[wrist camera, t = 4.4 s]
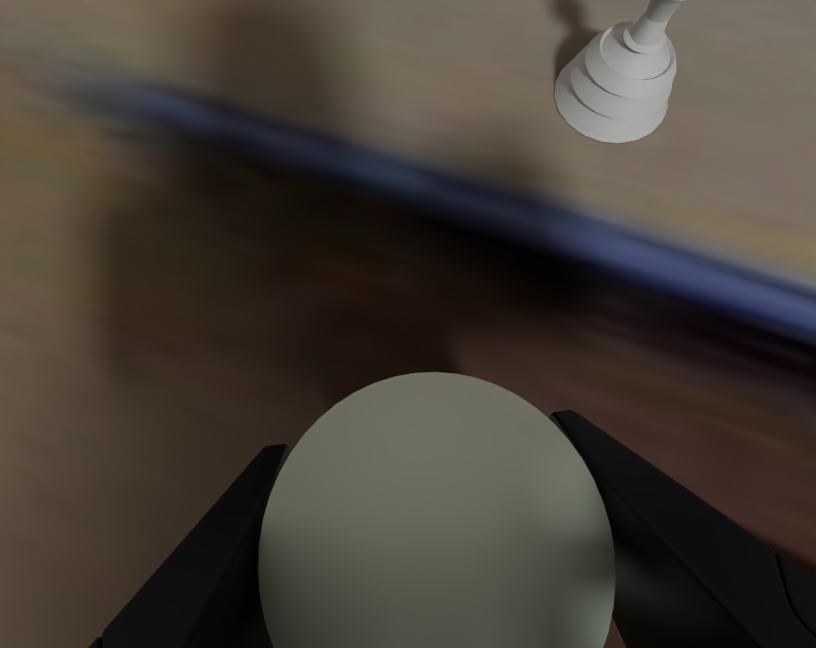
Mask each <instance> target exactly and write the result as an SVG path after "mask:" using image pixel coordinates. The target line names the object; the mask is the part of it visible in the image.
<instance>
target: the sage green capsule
mask: <svg viewBox="0 0 816 648" xmlns="http://www.w3.org/2000/svg"><path fill="white" fill-rule="evenodd" d="M258 578H259V591H260V599H261V605H262V610H263V615H264V620H265V624H266V627H267V630H268V633H269V636H270V639H271V642H272V645H273V648H603V646H604V643H605V640H606V637H607V634H608V631H609V626H610V621H611V616H612V611H613V607H614V595H615V582H616V575H615V553H614V546H613V540H612V534H611V528H610V524H609V520H608V517H607V513H606V510H605V506H604V503H603V500H602V498H601V496H600V493H599V491H598V488H597V486H596V483H595V481H594V479H593V477H592V475H591V474H590V472H589V470H588V468H587V466H586V465H585V463H584V461H583V459H582V458H581V456H580V455H579V453H578V452H577V451H576V449H575V448H574V447H573V445H572V444H571V442H570V441H569V440H568V438H567V437H566V436H565V435H564V434H563V433H562V432H561V431H560V430H559V429H558V427H557V426H556V425H555V424H554V423H553V422H552V421H551V420H550V419H548V418H547V417H546V416H545V415H544V414H543V413H541V412H540V411H539V410H538V409H537V408H536V407H534V406H533V405H531V404H530V403H528V402H527V401H525V400H524V399H522V398H521V397H519V396H518V395H516V394H514V393H512V392H510V391H508V390H506V389H504V388H502V387H500V386H498V385H495V384H492V383H490V382H487V381H484V380H481V379H478V378H474V377H470V376H465V375H460V374H454V373H442V372H425V373H412V374H406V375H401V376H396V377H392V378H389V379H385V380H382V381H379V382H376V383H373V384H371V385H369V386H367V387H365V388H363V389H361V390H358V391H356V392H354V393H353V394H351V395H350V396H348V397H346V398H345V399H343V400H342V401H340V402H339V403H337V404H336V405H334V406H333V407H332V408H331V409H330V410H328V411H327V412H326V413H325V414H324V415H322V416H321V417H320V418H319V419H318V420H317V421H316V422H315V423H314V424H313V425H312V426H311V428H310V429H309V430H308V431H307V432H306V433H305V434H304V435H303V437H302V438H301V439H300V441H299V442H298V443H297V445H296V446H295V448H294V449H293V450H292V452H291V453H290V455H289V457H288V458H287V460H286V462H285V464H284V465H283V467H282V469H281V471H280V473H279V475H278V477H277V480H276V482H275V484H274V487H273V489H272V492H271V494H270V497H269V500H268V504H267V507H266V511H265V514H264V518H263V523H262V529H261V535H260V542H259V557H258Z"/></svg>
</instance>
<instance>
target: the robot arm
mask: <svg viewBox="0 0 816 648" xmlns="http://www.w3.org/2000/svg"><path fill="white" fill-rule="evenodd" d="M550 420H551V421H552V422H553V423H554V424H555V425H556V426H557V427H558V429H559V430H560V431H561V432H562V433H563V434H564V435H565V436H566V437H567V438H568V440H569V441H570V442H571V444H572V445H573V447H574V448H575V449H576V451H577V452H578V453H579V455H580V456H581V458H582V459H583V461H584V463H585V465H586V466H587V468H588V470H589V472H590V474H591V475H592V477H593V479H594V481H595V483H596V486H597V488H598V491H599V493H600V496H601V498H602V500H603V503H604V506H605V510H606V513H607V517H608V520H609V524H610V528H611V534H612V540H613V546H614V553H615V575H616V582H615V595H614V607H613V611H612V617H613V619H614V621H615V624H616V626H617V628H618V630H619V633H620V635H621V637H622V639H623V641H624V644H625V646H626V648H816V578H815V577H814V576H812V575H811V574H809V573H808V572H806V571H805V570H803V569H802V568H801V567H799V566H798V565H796V564H795V563H793V562H792V561H790V560H789V559H788V558H786V557H785V556H783V555H782V554H780V553H776V554H775V552H774V550H773V548H771V547H770V546H768V545H767V544H766V543H764V542H763V541H761V540H760V539H758V538H757V537H756V536H754V535H753V534H751V533H750V532H748V531H747V530H745V529H744V528H743V527H741V526H740V525H738V524H737V523H735V522H734V521H732V520H731V519H730V518H728V517H727V516H725V515H724V514H722V513H721V512H719V511H718V510H717V509H715V508H714V507H712V506H711V505H709V504H708V503H707V502H705V501H704V500H702V499H701V498H699V497H698V496H696V495H695V494H694V493H692V492H691V491H689V490H688V489H686V488H685V487H683V486H682V485H681V484H679V483H678V482H676V481H675V480H673V479H672V478H670V477H669V476H668V475H666V474H665V473H663V472H662V471H660V470H659V469H658V468H656V467H655V466H653V465H652V464H650V463H649V462H647V461H646V460H645V459H643V458H642V457H640V456H639V455H637V454H636V453H634V452H633V451H632V450H630V449H629V448H627V447H626V446H624V445H623V444H621V443H620V442H619V441H617V440H616V439H614V438H613V437H611V436H610V435H609V434H607V433H606V432H604V431H603V430H601V429H600V428H598V427H597V426H596V425H594V424H593V423H591V422H590V421H588V420H587V419H585V418H584V417H583V416H581V415H580V414H578V413H577V412H575V411H573V410H566V411H558V412H553V413H552V414H551V416H550ZM290 453H291V452H290V449H289V447H288V446H287V445H286V444H279V445H271V446H266V447H265V448H263V449H262V450H261V451H260V452H259V454H258V455H257V456H256V457H255V458H254V459H253V460H252V462H251V463H250V464H249V465H248V466H247V467H246V468H245V470H244V471H243V472H242V473H241V474H240V475H239V476H238V478H237V479H236V480H235V481H234V482H233V483H232V484H231V486H230V487H229V488H228V489H227V490H226V491H225V492H224V494H223V495H222V496H221V497H220V498H219V499H218V500H217V502H216V503H215V504H214V505H213V506H212V507H211V508H210V510H209V511H208V512H207V513H206V514H205V515H204V516H203V518H202V519H201V520H200V521H199V522H198V523H197V524H196V526H195V527H194V528H193V529H192V530H191V531H190V532H189V534H188V535H187V536H186V537H185V538H184V539H183V540H182V542H181V543H180V544H179V545H178V546H177V547H176V548H175V550H174V551H173V552H172V553H171V554H170V555H169V556H168V558H167V559H166V560H165V561H164V562H163V563H162V564H161V566H160V567H159V568H158V569H157V570H156V571H155V572H154V574H153V575H152V576H151V577H150V578H149V579H148V580H147V582H146V583H145V584H144V585H143V586H142V587H141V588H140V590H139V591H138V592H137V593H136V594H135V595H134V596H133V598H132V599H131V600H130V601H129V602H128V603H127V604H126V606H125V607H124V608H123V609H122V610H121V611H120V612H119V614H118V615H117V616H116V617H115V618H114V619H113V620H112V622H111V623H110V624H109V625H108V626H107V627H106V628H105V630H104V631H103V633H102V637H98V638H97V639H96V640H95V641H94V642H93V643H92V644H91V645H90V647H89V648H273V645H272V642H271V639H270V636H269V633H268V630H267V627H266V624H265V620H264V615H263V610H262V605H261V599H260V591H259V578H258V557H259V542H260V535H261V529H262V523H263V518H264V514H265V511H266V507H267V504H268V500H269V497H270V494H271V492H272V489H273V487H274V484H275V482H276V480H277V477H278V475H279V473H280V471H281V469H282V467H283V465H284V464H285V462H286V460H287V458H288V457H289V455H290Z"/></svg>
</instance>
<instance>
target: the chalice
mask: <svg viewBox="0 0 816 648" xmlns="http://www.w3.org/2000/svg"><path fill="white" fill-rule="evenodd" d="M684 1H687V0H650V2H649V5H648V8H647V11H646V12H645V13H644V14H643V16H642V17H641V18H640V19H639V21H637V22H634V21H629V22H622V23H618V24H616V25H614V26H612V27H610V28H608V29H606V30H604V31H602V32H600V33H599V34H598V35H596V36H595V37H594V38H593V39H592V40H591V41H590V43H589V45H587V46H586V47H585V48H584V49H582V50H581V51H580V52H579V53H578V54H577V55H576V57H575V58H574V59H573V60H571V61H570V62H569V63H568V64H567V65H566V66H565V67H564V68H563V69H562V70H561V72H560V74H559V76H558V78H557V80H556V82H555V92H554V98H555V101H556V104H557V107H558V110H559V112H560V114H561V115H562V116H563V118H564V119H565V120H566V121H567V123H568V124H569V125H570V126H572V127H573V128H574V129H576V130H577V131H578V132H580V133H581V134H583V135H585V136H588V137H590V138H593V139H595V140H598V141H602V142H612V143H623V142H629V141H635V140H638V139H640V138H642V137H644V136H646V135H648V134H650V133H652V132H653V131H654V130H655V128H656V127H657V126H658V125H659V124H660V123H661V122H662V121H663V118H664V116H665V113H666V111H667V108H668V105H667V100H668V98H669V95H670V93H671V90H672V81H673V79H674V76H675V74H676V56H675V51H674V48H673V45H672V43H671V41H670V39H669V38H668V37H667V36H666V35H665V32H664V30H665V28H666V25H667V22H668V20H669V18H670V17H671V16H672V14H673V13H674V12H675V11H676V10H677V9H678V8H679V7H680V5H681V4H682V3H683V2H684Z"/></svg>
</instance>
